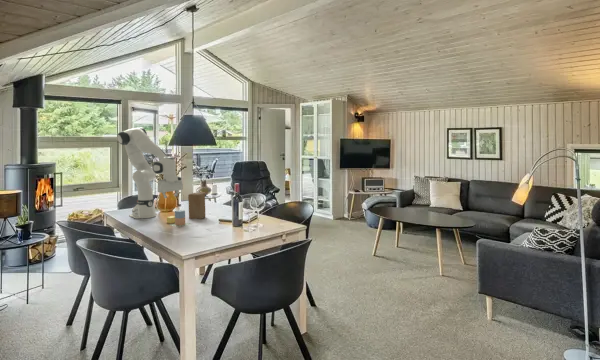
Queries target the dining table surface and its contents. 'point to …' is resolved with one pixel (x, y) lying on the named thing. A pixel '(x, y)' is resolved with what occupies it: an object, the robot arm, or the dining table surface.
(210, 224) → the dining table surface
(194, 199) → the block
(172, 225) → the build plate
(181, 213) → the brick slate
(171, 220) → the brick mustard
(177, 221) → the brick terracotta
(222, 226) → the dining table surface
